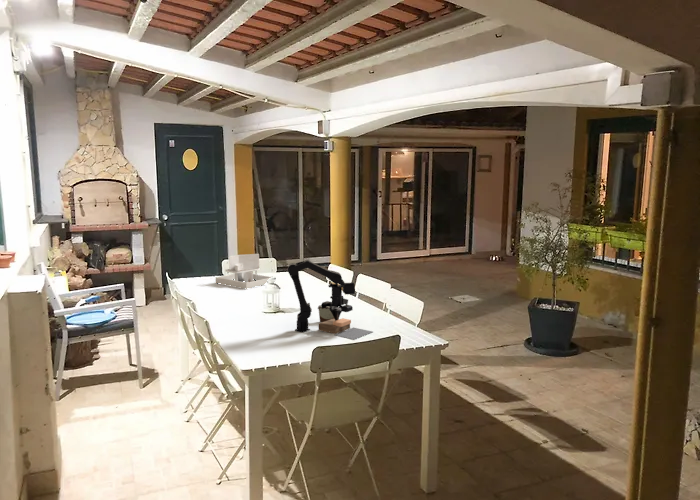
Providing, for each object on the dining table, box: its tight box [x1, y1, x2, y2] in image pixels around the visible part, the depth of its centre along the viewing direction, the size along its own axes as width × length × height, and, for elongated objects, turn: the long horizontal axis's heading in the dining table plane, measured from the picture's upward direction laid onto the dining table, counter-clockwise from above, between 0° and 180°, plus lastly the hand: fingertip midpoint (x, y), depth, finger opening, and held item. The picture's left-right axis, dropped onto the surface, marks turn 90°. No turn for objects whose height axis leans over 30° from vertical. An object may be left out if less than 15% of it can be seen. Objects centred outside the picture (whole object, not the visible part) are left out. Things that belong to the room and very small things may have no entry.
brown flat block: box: [318, 318, 351, 335], centre depth 321 cm, size 14×12×4 cm
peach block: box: [333, 317, 352, 327], centre depth 318 cm, size 9×6×2 cm, turn 144°
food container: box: [317, 304, 334, 323], centre depth 337 cm, size 12×6×10 cm, turn 72°
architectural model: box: [224, 253, 261, 283], centre depth 447 cm, size 28×21×23 cm
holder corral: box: [215, 273, 272, 290], centre depth 448 cm, size 29×36×5 cm
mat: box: [334, 327, 374, 341], centre depth 313 cm, size 18×14×1 cm
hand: (336, 321), depth 320 cm, fingers closed
